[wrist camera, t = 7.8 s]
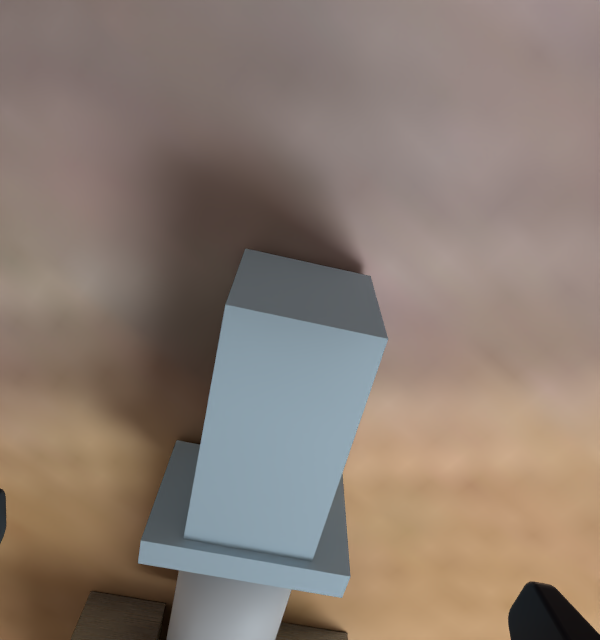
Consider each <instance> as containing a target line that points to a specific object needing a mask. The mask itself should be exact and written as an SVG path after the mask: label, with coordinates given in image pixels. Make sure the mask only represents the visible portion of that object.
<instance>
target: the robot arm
mask: <svg viewBox="0 0 600 640" xmlns="http://www.w3.org/2000/svg"><path fill="white" fill-rule="evenodd" d="M5 530H6V496H5V492H4V491H3V489H0V543H1V541H2V539H3V536H4V534H5ZM508 624H509V631H510V637H511V640H600V635H599V634H598V632H597V631H596V630H595V629H594V628H593V627H592V626H591V625H590V624H589V623H588V622H587V621H586V620H585V619H584V618H583V616H582V615H581V614H580V613H579V612H578V611H577V610H576V609H575V608H574V607H573V606H572V605H571V604H570V603H569V602H568V600H567V599H566V598H565V597H564V596H563V595H562V594H561V593H560V592H559V591H558V590H557V589H556V588H555V587H553V586H552V585H549V584H545V583H539V582H528V583H527V584H526V585H525V586H524V588H523V589H522V591H521V592H520V594H519V596H518V597H517V599H516V600H515V602H514V604H513V605H512V607H511V609H510V612H509V616H508Z"/></svg>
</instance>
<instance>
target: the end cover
mask: <svg viewBox="0 0 600 640" xmlns="http://www.w3.org/2000/svg"><path fill="white" fill-rule="evenodd" d="M387 340H388V337H387V334H386V330H385V326H384V323H383V319H382V316H381V312H380V308H379V305H378V301H377V298H376V294H375V291H374V287H373V283H372V280H371V276H368V275H363V274H359V273H354V272H350V271H345V270H341V269H336V268H332V267H327V266H323V265H318V264H314V263H309V262H305V261H300V260H295V259H291V258H286V257H282V256H277V255H273V254H268V253H264V252H259V251H255V250H250V249H246V248H245V251H244V254H243V257H242V259H241V262H240V265H239V268H238V271H237V273H236V276H235V279H234V282H233V285H232V288H231V290H230V293H229V296H228V299H227V302H226V304H225V310H224V315H223V321H222V327H221V332H220V338H219V343H218V349H217V354H216V360H215V366H214V371H213V377H212V382H211V388H210V393H209V399H208V405H207V410H206V416H205V421H204V427H203V433H202V438H201V444H194V443H189V442H184V441H178V440H177V441H176V443H175V446H174V449H173V452H172V455H171V457H170V460H169V463H168V466H167V469H166V471H165V474H164V477H163V480H162V483H161V485H160V488H159V491H158V494H157V497H156V499H155V502H154V505H153V508H152V511H151V513H150V516H149V519H148V522H147V525H146V527H145V530H144V533H143V536H142V539H141V543H140V551H139V559H138V563H139V564H145V565H151V566H157V567H163V568H169V569H174V570H179V573H178V578H177V584H176V589H175V595H174V600H173V606H172V612H171V617H170V623H169V628H168V634H167V639H166V640H275V639H276V636H277V633H278V630H279V627H280V623H281V620H282V617H283V614H284V611H285V608H286V605H287V602H288V599H289V596H290V593H291V590H292V589H293V590H299V591H305V592H310V593H316V594H322V595H328V596H334V597H340V598H342V597H343V594H344V592H345V589H346V586H347V584H348V581H349V579H350V565H349V552H348V539H347V526H346V513H345V500H344V487H343V474H342V472H343V469H344V467H345V464H346V461H347V458H348V455H349V452H350V449H351V446H352V443H353V440H354V437H355V434H356V431H357V428H358V425H359V423H360V420H361V417H362V414H363V411H364V408H365V405H366V402H367V399H368V396H369V393H370V390H371V387H372V384H373V381H374V379H375V376H376V373H377V370H378V367H379V364H380V361H381V358H382V355H383V352H384V349H385V346H386V343H387Z"/></svg>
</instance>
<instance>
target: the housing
mask: <svg viewBox="0 0 600 640" xmlns="http://www.w3.org/2000/svg"><path fill="white" fill-rule="evenodd" d="M165 604H166V603H160V602H154V601H148V600H142V599H136V598H130V597H123V596H117V595H111V594H105V593H99V592H93V591H91V592H90V594H89V597H88V599H87V602H86V604H85V606H84V609H83V611H82V614H81V616H80V618H79V621H78V623H77V626H76V628H75V630H74V633H73V635H72V638H71V640H159V639H160V633H161V627H162V622H163V616H164V610H165ZM275 640H348V636H347V633H343V632H337V631H331V630H325V629H319V628H313V627H307V626H301V625H295V624H288V623H282V622H281V623H280V627H279V630H278V633H277V636H276V639H275Z"/></svg>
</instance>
